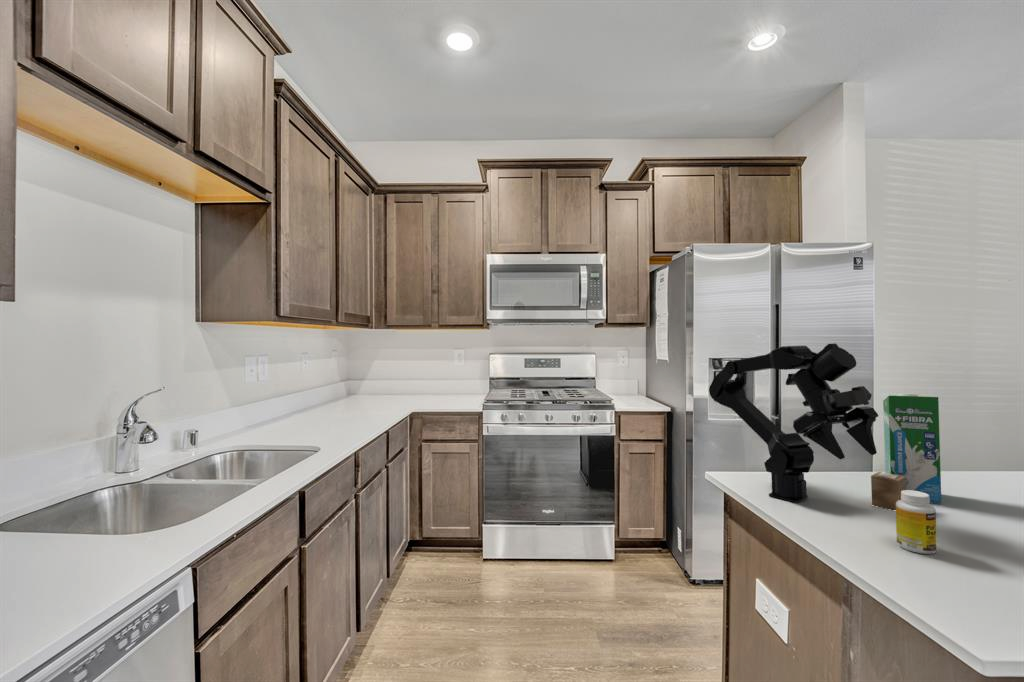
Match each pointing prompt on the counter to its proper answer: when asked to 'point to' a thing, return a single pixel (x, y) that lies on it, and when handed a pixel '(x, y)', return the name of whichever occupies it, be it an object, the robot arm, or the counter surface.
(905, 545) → the supplement bottle
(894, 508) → the brown rectangular block
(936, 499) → the milk carton
